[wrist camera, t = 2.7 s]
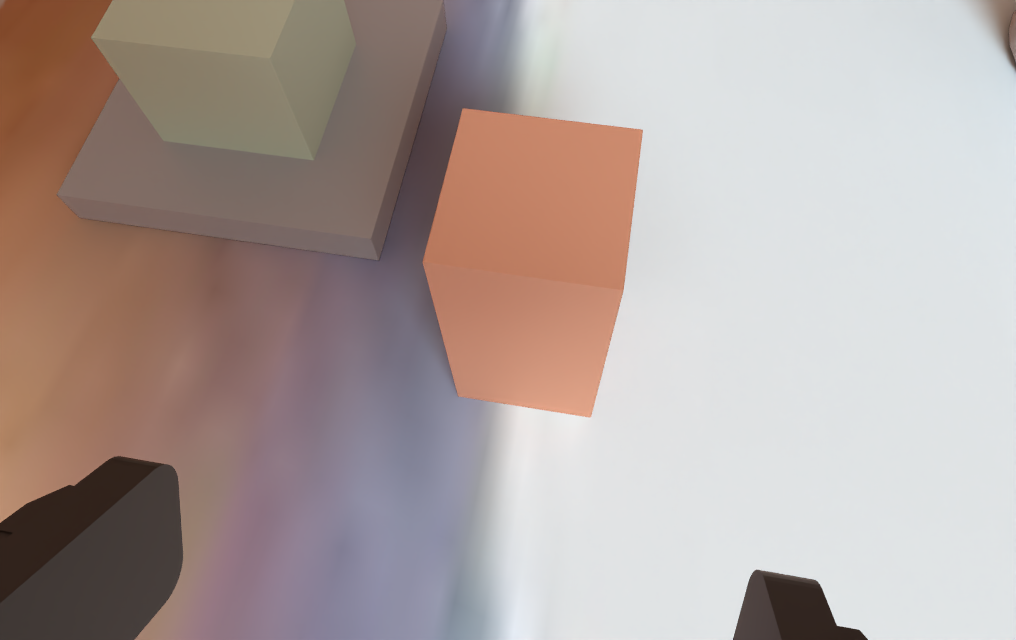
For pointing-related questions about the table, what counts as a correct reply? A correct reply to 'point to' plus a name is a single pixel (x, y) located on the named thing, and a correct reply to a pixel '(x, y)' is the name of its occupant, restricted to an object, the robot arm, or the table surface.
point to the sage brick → (232, 69)
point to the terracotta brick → (532, 256)
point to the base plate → (277, 179)
